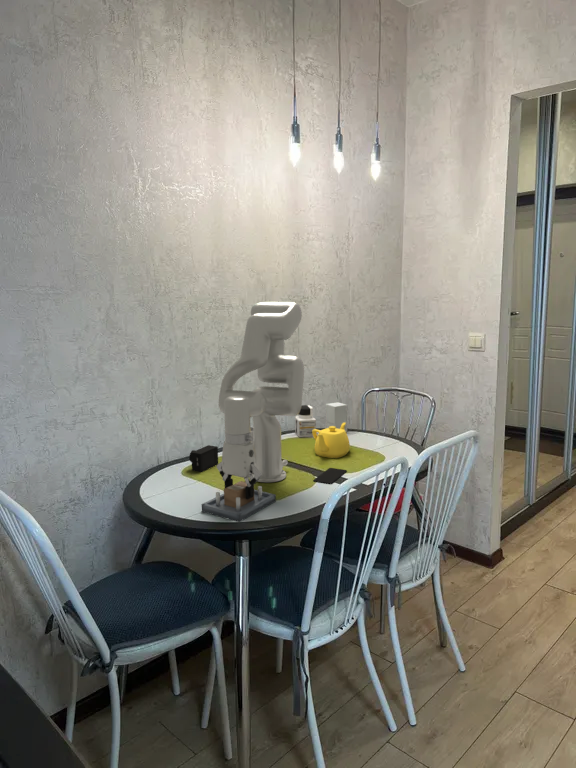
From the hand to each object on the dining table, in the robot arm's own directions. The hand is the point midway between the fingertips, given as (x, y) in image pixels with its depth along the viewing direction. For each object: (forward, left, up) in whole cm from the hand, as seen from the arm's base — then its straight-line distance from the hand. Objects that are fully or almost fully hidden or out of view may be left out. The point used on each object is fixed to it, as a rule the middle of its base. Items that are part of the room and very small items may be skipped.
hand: (239, 494), depth 167 cm
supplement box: (-92, -17, -4) cm, 94 cm away
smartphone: (-38, +10, -4) cm, 40 cm away
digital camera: (-22, -34, -4) cm, 41 cm away
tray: (0, 0, -4) cm, 4 cm away
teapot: (-62, -4, -4) cm, 62 cm away
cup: (-47, -34, -4) cm, 58 cm away
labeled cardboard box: (0, 0, -2) cm, 2 cm away
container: (-80, -26, -4) cm, 84 cm away
